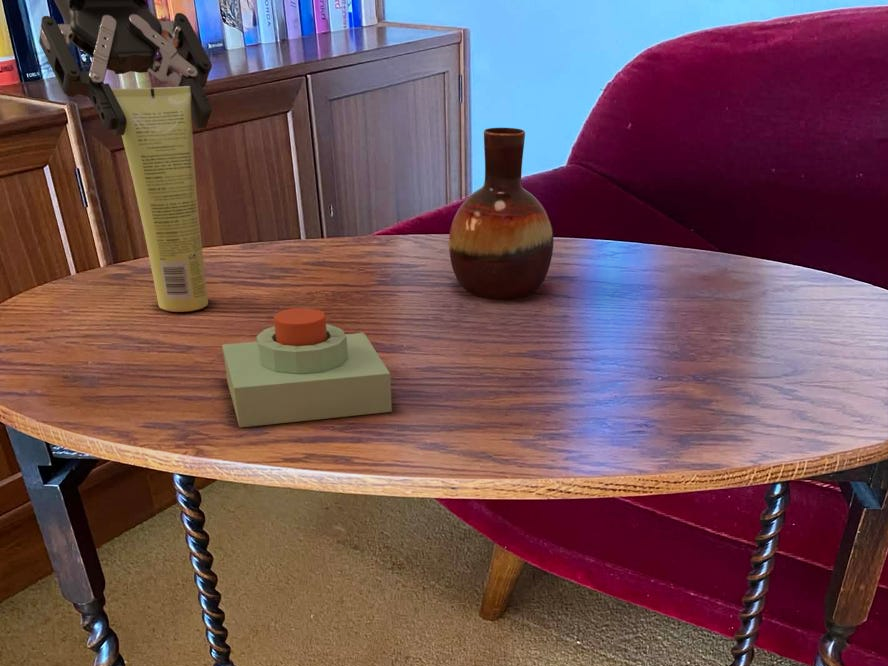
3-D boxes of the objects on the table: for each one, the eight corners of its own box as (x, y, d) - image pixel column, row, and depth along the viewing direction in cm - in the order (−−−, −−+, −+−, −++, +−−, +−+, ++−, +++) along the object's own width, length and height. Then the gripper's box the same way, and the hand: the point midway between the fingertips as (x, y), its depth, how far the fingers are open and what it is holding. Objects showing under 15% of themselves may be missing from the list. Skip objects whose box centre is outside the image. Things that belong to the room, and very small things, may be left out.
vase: (524, 310, 99) (531, 143, 90) (430, 294, 103) (428, 132, 94) (566, 284, 107) (577, 128, 98) (477, 269, 111) (480, 119, 102)
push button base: (239, 427, 74) (230, 364, 71) (227, 381, 82) (218, 322, 79) (391, 412, 77) (389, 350, 74) (366, 368, 84) (363, 311, 82)
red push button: (280, 351, 74) (277, 325, 73) (273, 335, 78) (270, 309, 76) (331, 347, 75) (329, 321, 74) (322, 331, 79) (320, 306, 77)
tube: (175, 295, 101) (140, 81, 89) (220, 299, 100) (190, 84, 88) (149, 311, 96) (108, 88, 85) (196, 316, 95) (161, 91, 84)
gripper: (6, -71, 81) (94, 102, 80) (164, -67, 88) (245, 90, 88) (1, 1, 87) (82, 162, 87) (149, -1, 95) (224, 146, 94)
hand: (164, 125), depth 87 cm, fingers closed on tube, 7 cm apart
